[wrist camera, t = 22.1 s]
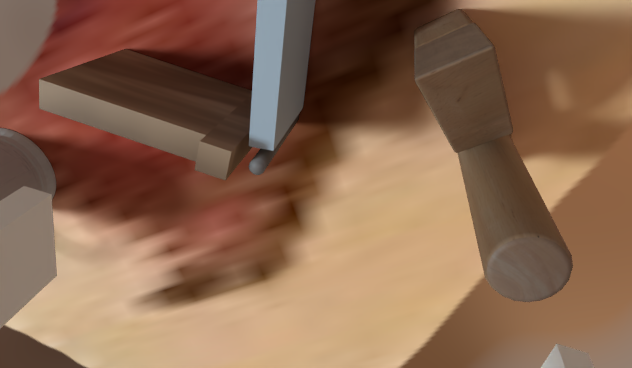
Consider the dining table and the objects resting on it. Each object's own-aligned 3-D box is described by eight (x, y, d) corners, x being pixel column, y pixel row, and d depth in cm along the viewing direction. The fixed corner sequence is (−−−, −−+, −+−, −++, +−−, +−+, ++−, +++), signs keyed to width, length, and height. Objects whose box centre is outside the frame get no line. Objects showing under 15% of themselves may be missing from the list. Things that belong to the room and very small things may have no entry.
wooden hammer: (462, 6, 32) (510, 61, 16) (510, 142, 36) (589, 296, 20) (411, 30, 34) (410, 102, 18) (462, 159, 37) (500, 316, 21)
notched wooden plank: (125, 48, 38) (27, 83, 28) (301, 107, 38) (263, 162, 28) (123, 72, 39) (28, 113, 29) (295, 129, 38) (256, 190, 29)
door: (268, 101, 38) (230, 142, 30) (282, -74, 32) (239, -81, 24) (303, 107, 37) (273, 150, 29) (323, -68, 32) (293, -74, 24)
